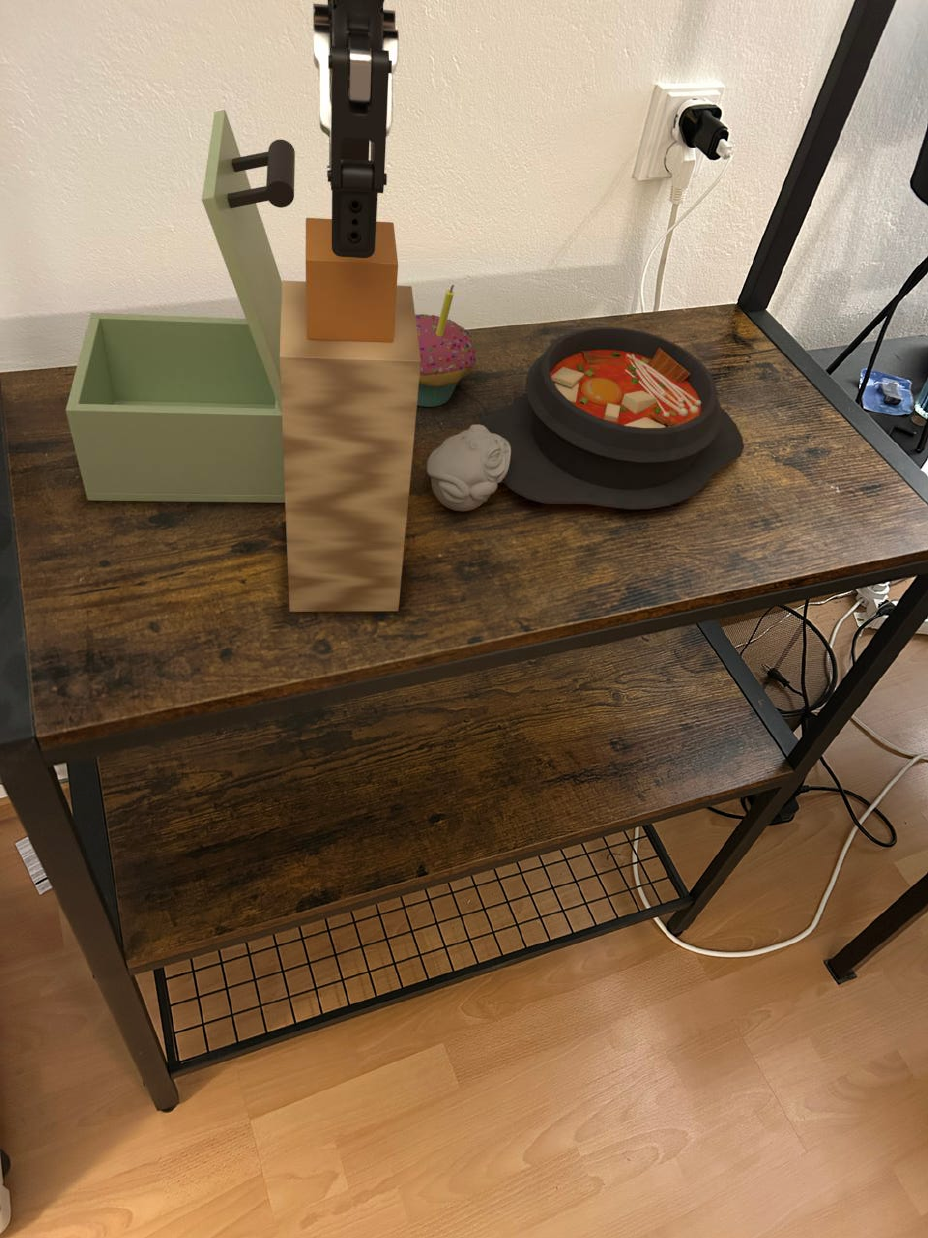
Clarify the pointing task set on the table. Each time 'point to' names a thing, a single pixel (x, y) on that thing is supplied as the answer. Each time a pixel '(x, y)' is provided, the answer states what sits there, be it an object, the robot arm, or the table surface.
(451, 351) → the cupcake
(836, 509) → the table surface
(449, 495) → the frog figurine
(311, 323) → the orange rectangular box
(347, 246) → the robot arm
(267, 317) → the lid
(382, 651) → the table surface
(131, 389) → the chest
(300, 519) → the tall wooden pillar
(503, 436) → the casserole
